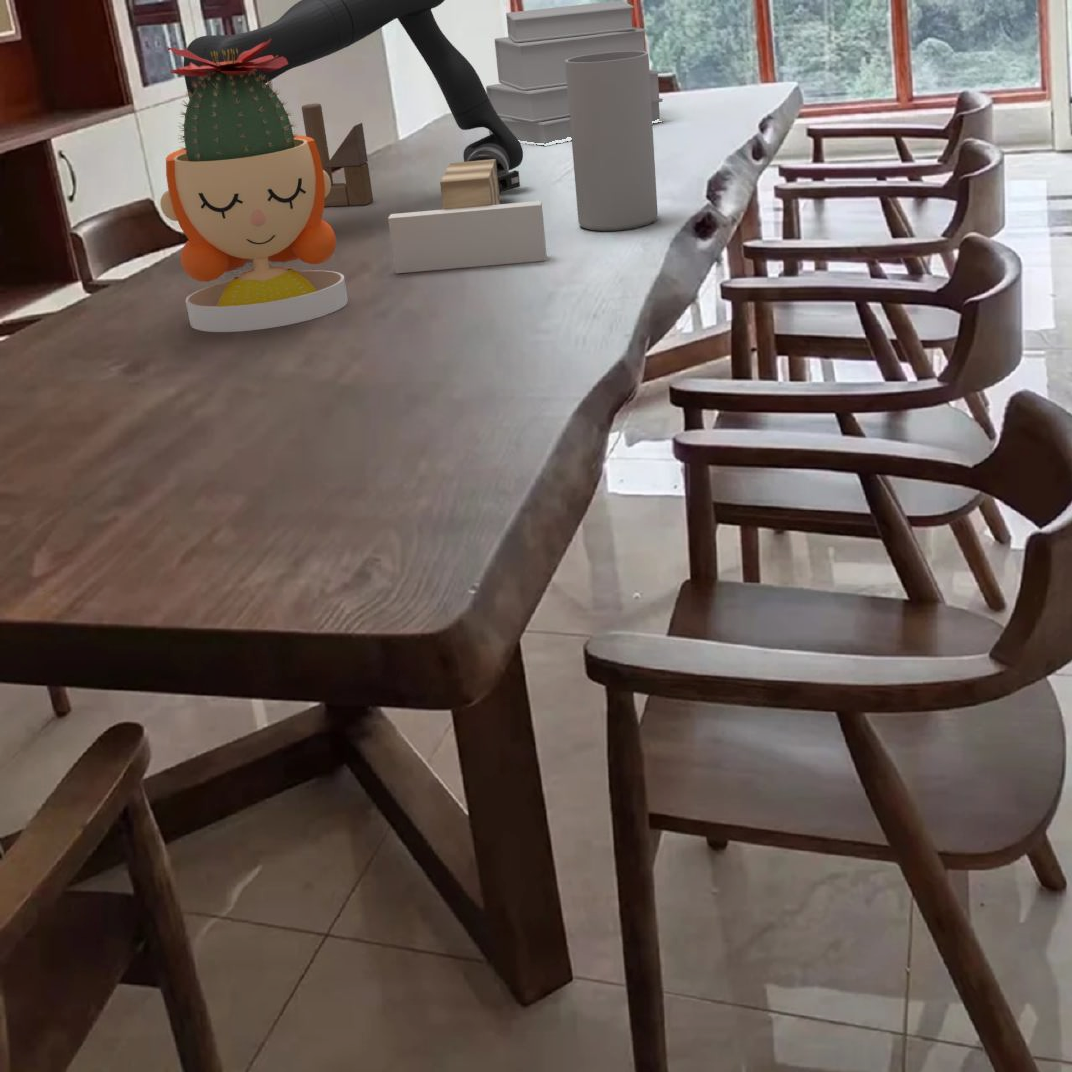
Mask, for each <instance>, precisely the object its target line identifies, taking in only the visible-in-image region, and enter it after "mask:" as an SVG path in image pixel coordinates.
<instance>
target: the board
mask: <svg viewBox="0 0 1072 1072" xmlns="http://www.w3.org/2000/svg"><path fill="white" fill-rule="evenodd" d="M387 221H388V227H389V228H388V229H389V236H390V243H391V250H392V255H393V256H392V257H393V265H394V271H395V274H405V273H406V274H407V273H415V272H416V273H417V272H418V273H419V272H427V271H440V270H452V269H464V268H465V269H466V268H475V267H486V266H498V265H499V266H500V265H509V264H519V263H520V264H521V263H522V264H523V263H532V262H534V263H535V262H545V261H547V256H548V255H547V244H546V234H545V225H544V213H543V202H542V200H537V201H536V200H535V201H534V200H533V201H524V202H511V203H500V204H499V205H488V206H477V207H466V208H454V209H443V208H442V209H434V210H423V211H412V212H403V213H402V212H399V213H390V215H389V216H388V217H387Z"/></svg>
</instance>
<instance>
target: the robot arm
mask: <svg viewBox="0 0 1072 1072" xmlns="http://www.w3.org/2000/svg"><path fill="white" fill-rule="evenodd" d="M445 1H446V0H299V1H298V2H296V3H295V4H293V5H292V6H291V7H290V8H289V9H287V11H286V12H284V14H283V15H282V16H281V17H280V18H278V20H275V21H274V22H272V23H270V24H268V25H265V26H263V27H260V28H256V29H253V30H250V31H246V32H242V33H237V34H219V35H218V34H217V35H203V36H199V37H196V38H195V39H193V40H192V41H191V42H190V43H189V44H188V46H187V48H186V49H187V50H188V51H190V52H192V53H193V54H195V55H196V56H198V57H200V58H203V59H206V60H209V61H211V62H215V63H218V61H219V62H224V60H225V62H226V61H232V56H233V62H234V56H235V61H236V60H237V59H238V57H239V55H240V54H241V53H243V52H244V51H248V50H251V49H253V48H254V47H256V46H257V45H259V44H261V43H263V42H267V41H268V40H269V39H271V43H270V44H269V46H268V47H267V48H266V49H265V50H264V51H262V52H261V53H260V54H259V55H257V56H255V57H254V58H252V59H250V60H248V61H246V62H249V61H252V60H254V59H257V58H260V57H264V56H268V55H272V56H273V57H274V58H275V57H276V56H277V55H278V58H279V57H282V56H283V57H284V58H286V59H287V62H288V65H285V66H284V67H282V68H280V69H277V70H274V71H270V72H268V71H263V70H260V69H258V70H257V68H256V70H255V71H253V72H254V73H255V74H256V75H255V74H254V75H255V76H256V77H258V76H259V75H260V76H261V75H262V77H263V76H265V77H264V80H262V81H263V82H264V83H265V84H267V81H268V83H270V82H269V81H271V82H272V80H274V79H275V78H277V77H279V76H280V75H282V74H284V73H286V72H288V71H290V70H292V69H295V68H297V67H301V66H304V65H307V64H310V63H312V62H315V61H316V60H320V59H322V58H325V57H328V56H330V55H332V54H335V53H336V52H337V53H338V52H339V51H341V50H343V49H345V48H348V47H350V46H351V45H353V44H355V43H357V42H359V41H361V40H363V39H365V38H367V37H368V36H370V35H371V34H374V33H375V32H377V31H378V30H379V29H381V28H383V27H385V26H386V25H387V24H389V23H391V22H392V21H394V20H396V19H397V20H398V22H399V23H400V26H402V28H403V29H404V31H405V32H406V34H407V35H408V37H409V38H410V40H411V42H412V44H413V45H414V46H415V48H416V50H418V52H419V54H420V56H421V57H422V59H423V60H424V62H425V63H426V65H427V67H428V69H429V70H430V71H431V73H432V76H433V77H434V79H435V81H436V82H437V84H438V86H439V88H440V90H441V93H442V95H443V97H444V99H445V101H446V104H447V106H448V108H449V110H450V112H451V114H452V116H453V118H454V120H455V123H456V125H457V126H458V128H459V129H460V130H463V131H469V130H474V129H478V128H485V129H487V130H488V131H489V130H490V131H491V132H492V133H493V134H491V135H487V136H485V137H482V138H480V139H479V140H476V141H474V142H471V143H470V144H469V145H467V146H466V147H464V150H463V153H462V154H463V158H462V159H463V162H469V161H480V160H491V159H496V168H497V177H498V187H499V195H501V193H504V192H507V191H510V190H513V189H517V188H520V187H521V182H520V172H519V170H514V169H516V168H518V167H519V166H520V165H521V164H522V162H523V158H524V151H523V147H522V144H521V143H520V142H519V141H518V139H517V138H516V137H515V135H514V134H513V133H512V132H511V131H510V130H509V128H508V127H507V126H506V125H505V124H504V122H503V121H502V120H501V119H500V117H499V116H498V114H497V113H496V111H495V110H494V108H493V106H492V104H491V102H490V100H489V99H488V96H487V92H486V88H485V87H484V85H483V82H482V80H481V79H480V75H479V74H478V73H477V71H476V69H475V68H474V66H473V65H472V64H471V63H470V61H469V60H468V59H467V58H466V56H464V55H463V54H462V53H461V52H460V51H459V50H458V49H457V48H456V46H455V45H453V44H452V42H451V41H450V40H449V39H448V38H447V37H446V35H445V34H444V32H443V31H442V30H441V28H440V26H439V25H438V23H437V21H436V19H435V16H434V14H433V12H432V9H436V8H437V7H439V6H440V5H441V4H443V3H444V2H445ZM236 48H237V50H238V54H237V51H236ZM222 49H223V52H224V51H225V53H226V57H225V55H224V54H222ZM231 49H232V53H231ZM227 50H229V58H228V53H227ZM233 50H234V53H235V54H233ZM211 52H212V56H211ZM213 52H215V54H216V52H217V53H218V59H216V58H217V56H216V57H214V53H213ZM223 55H224V57H223ZM212 58H213V59H212ZM215 59H216V60H215ZM213 60H214V61H213ZM217 60H218V61H217ZM216 61H217V62H216ZM190 62H191V63H193V64H195V65H196V66H198V67H200V66H203V65H204V66H208V65H205V64H203V63H200V62H198V61H196V60H194V59H190V58H186V57H183V63H182V64H183V65H182V67H186V66H189V65H190ZM253 69H255V68H253ZM206 72H210V73H208V74H207V75H208V76H209V75H210V74H212V73H213V72H211V71H206ZM253 72H252V73H253ZM214 73H215V72H214ZM183 76H184V80H185V86H186V90H187V89H188V90H187V91H188V92H191V95H192V94H193V92H194V91H195V89H196V88H195V86H194V83H196V84H197V86H198V85H199V84H200V83H201V82H202V80H201V78H198V77H201V76H186V75H183ZM205 76H206V75H205ZM205 76H203V77H205ZM206 77H207V76H206ZM206 77H205V78H206ZM258 78H259V77H258ZM265 78H266V79H265ZM197 79H198V80H197ZM203 79H204V78H203ZM262 79H263V78H262ZM192 81H193V82H194V81H195V82H194V83H193V82H192ZM199 81H200V82H199ZM197 82H198V83H199V84H198V83H197ZM192 84H193V85H192ZM196 84H195V85H196ZM192 86H193V87H192ZM193 89H194V90H193ZM189 90H190V91H189ZM187 91H186V92H187ZM188 92H187V93H188ZM188 94H189V93H188ZM188 94H187V95H188ZM190 98H191V96H190V97H189V96H188V101H189V100H190ZM511 170H512V171H511Z"/></svg>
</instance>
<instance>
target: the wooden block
mask: <svg viewBox="0 0 1072 1072" xmlns="http://www.w3.org/2000/svg"><path fill="white" fill-rule="evenodd" d="M301 114H302V119H303V126H304V131H305V136H307V137H310V138H312V139H313V140H315V143H316V146H317V149H318V152H319V155H320V159H321V164H322V169H323V170H324V171H325V172H326V173H327V174H328V175H329V177H330V180H331V189H330V192H329V194H328V195H327V197H325V206H324V208H325V207H345V206H346V207H347V206H350V207H356V206H357V207H358V206H367V205H369V204H370V203H373V201H374V196H373V190H372V184H371V177H370V176H371V175H370V168H369V163H368V161H369V160H368V155H367V147H366V140H365V133H364V127H363V125H364V124H363V122H360V123H358V124H355V125H354V126H353V127H352V128H351V130H350V131H349V133H348V134H347V135H346V137H344V139H343V141H342V142H341V143H340V145H339V147H337V149H336V151H335V152H334V153H333V155H332V156H331V158H330V154H329V146H328V141H327V134H326V127H325V121H324V115H323V114H324V113H323V107H322V105H321V103H318V102H317V103H307V104H304V105H302V106H301ZM339 167H343V171H344V172H343V173H344V178H345V183H344V182H338V183H337V182H336V183H334V180H333V173H332V168H339Z"/></svg>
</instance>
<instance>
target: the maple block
mask: <svg viewBox="0 0 1072 1072" xmlns="http://www.w3.org/2000/svg"><path fill="white" fill-rule="evenodd" d="M439 185H440V192H441V201H442V210H443V209H454V208H466V207H477V206H488V205H499V204H501V198H500V194H499V187H498V177H497V168H496V159H491V160H480V161H469V162H464V161H459V162H450V163H449V166H448V167H447V168H446V171H445V172H444V175H443V176H442V178H441V180H440V182H439Z"/></svg>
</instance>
